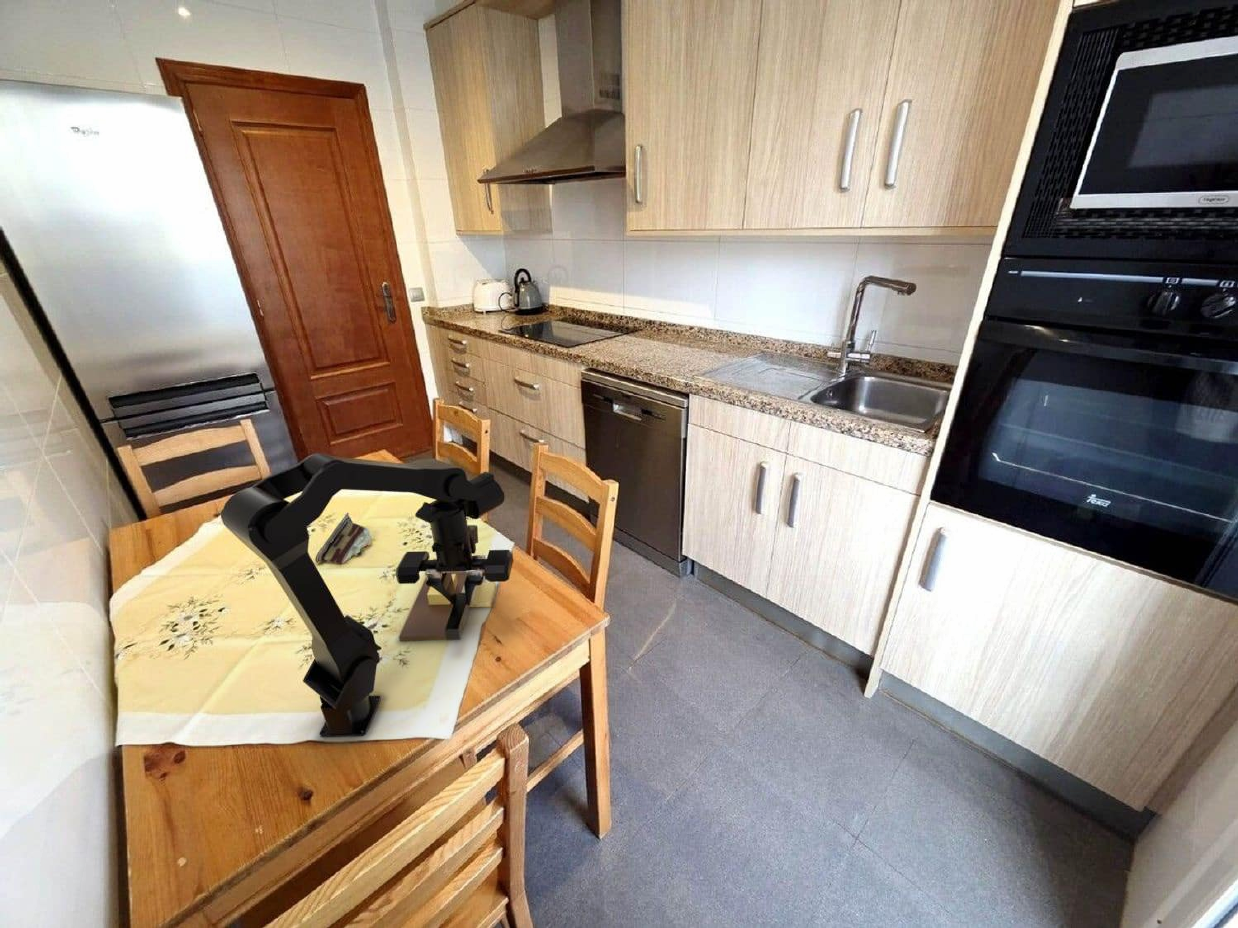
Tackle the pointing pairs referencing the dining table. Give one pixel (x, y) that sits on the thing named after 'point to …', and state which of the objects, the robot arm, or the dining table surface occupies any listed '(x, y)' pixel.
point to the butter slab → (484, 595)
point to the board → (429, 615)
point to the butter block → (439, 594)
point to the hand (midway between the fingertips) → (462, 603)
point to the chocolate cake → (344, 542)
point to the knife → (458, 616)
